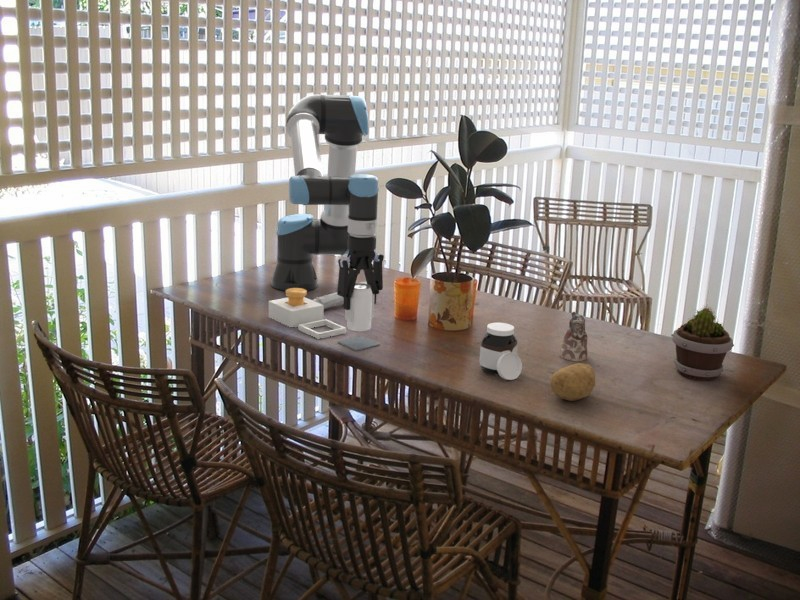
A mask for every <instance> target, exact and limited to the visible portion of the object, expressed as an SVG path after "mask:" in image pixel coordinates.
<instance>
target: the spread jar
mask: <svg viewBox="0 0 800 600" xmlns="http://www.w3.org/2000/svg"><path fill="white" fill-rule="evenodd" d="M514 332H515V326H514V325H512V324H510V323H506V322H491V323H488V324H487V326H486V333H485V334H484V336H483V338H482V340H481V343H480V349H479V366H480V368H481V369H482V370H483V371H484V372H486V373H489V374H492V375H496V374H497V376H500V377H501V378H502V379H504V380H506V381H507V380H508V381H513V380H515V379H518V377H519V376H520V375H521V373H522V370H523V363H522V360H521V358H520V356H519V355H518V344H519V343H518V338H517V336H516V335H515V333H514Z"/></svg>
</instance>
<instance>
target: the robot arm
mask: <svg viewBox="0 0 800 600" xmlns="http://www.w3.org/2000/svg"><path fill="white" fill-rule="evenodd" d="M285 122H286V131H287V134H288V136H289V137H290V138H291V140H290V141H291V149H292V157H293V159H292V161H293V168H294V176H293V175H292V176H290V178H289V180H288V196H289V197H288V198H289V202H290V203H291V204H292V205H301V206H313V205H314V206H325V209H324V210H323V211H322V212H321V214H320V217H319V219H318V218H317V219H315V218H314V216H313V214H310V213H295V214H290V215H286V216H283V217H281V218H280V219H278V221H277V227H276V229H277V230H276V235H277V236H276V238H277V240H276V243H277V244H276V245H277V246H276V265H275V267H274V271H273V274H272V277H271V287H272V288H275V289H276V290H280V291H284V292H286V290H287V289H290V288H302V289H305V290H307V291H310V290H314V289H317V287H318V284H319V283H318V276H317V273H316V269H315V267H314V263H313V257H314V256H315V255H317V256H318V255H321V256H323V255H324V256H325V255H326V256H331V255H332V256H333V255H336V256H337V255H339V256H344V255H346V257H345V258H339V259H338V260H337V263H338V267H339V268H338V269H339V270H338V271H339V272H338V280H337V282H338V283H337V291H336V292H337V294H338V295H339V296H342V297H343V298H344V302H343V309H344V320H345V321H349V322H353V319H354V298H351V297H352V294H353V290H354V287H355V283H357V279H358V276H359V275H360V272H361V271H362V270H363V273H364V277H365V281H366V282H367V284H369V285H370V286H371V290H372V316H371V319H372V318H373V319H374V318H375V317H374V316H375V305H376V303H377V295H379V294H380V291H383V287H384V284H383V283H384V282H383V263H384V257H385V256H384V254H381V253H379V252H378V253H377V252H376V251H375V250H376V248H377V236H376V234H377V231H378V230H377V226H378V225H377V223H378V199H379V197H378V196H379V190H380V189H379V179H378V177H377V176H375V175H372V174H367V173H356V168H357V166H356V165H357V154H358V153H357V150H358V146H360V144H362V142H363V137H365V136H368V135H369V130H370V129H369V128H370V127H369V126H370V124H369V115H368V107H367V103H366V100H365V99H364V97H362V96H357V95H351V94H349V95H346V94H345V95H341V94H310V95H307V96H305V97H302V98H301V99H299V100H298V101H297V102H296V103H295V104H294V105H292V107H291V108H290V110H289V112H288V114H287V118H286V121H285ZM318 135H324V140H325V141H326V142H327V143H328V158H327V159H328V163H327V176H324V175H323V168H322V158H321V154H320V146H319V138H318Z"/></svg>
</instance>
